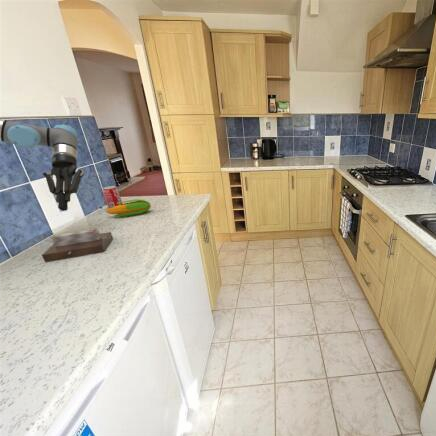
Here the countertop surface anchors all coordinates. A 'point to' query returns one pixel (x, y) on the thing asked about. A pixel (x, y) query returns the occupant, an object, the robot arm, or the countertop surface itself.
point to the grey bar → (76, 237)
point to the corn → (130, 208)
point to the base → (78, 248)
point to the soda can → (111, 196)
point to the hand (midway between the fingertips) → (62, 209)
